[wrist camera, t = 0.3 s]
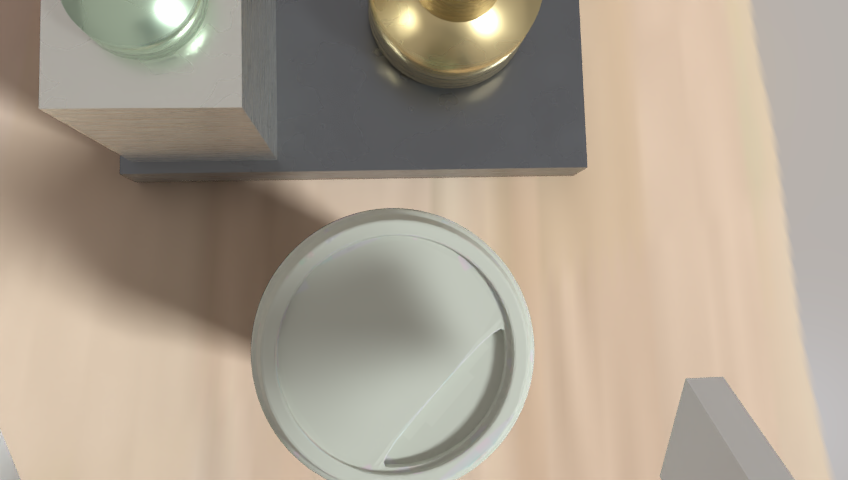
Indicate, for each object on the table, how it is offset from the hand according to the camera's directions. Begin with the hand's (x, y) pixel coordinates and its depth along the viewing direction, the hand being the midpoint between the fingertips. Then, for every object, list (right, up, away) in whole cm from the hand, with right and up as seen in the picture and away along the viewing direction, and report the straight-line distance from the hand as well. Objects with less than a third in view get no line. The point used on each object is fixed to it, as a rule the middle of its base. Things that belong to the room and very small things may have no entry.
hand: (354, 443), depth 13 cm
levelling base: (-2, +17, +18) cm, 25 cm away
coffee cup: (0, 0, +17) cm, 17 cm away
